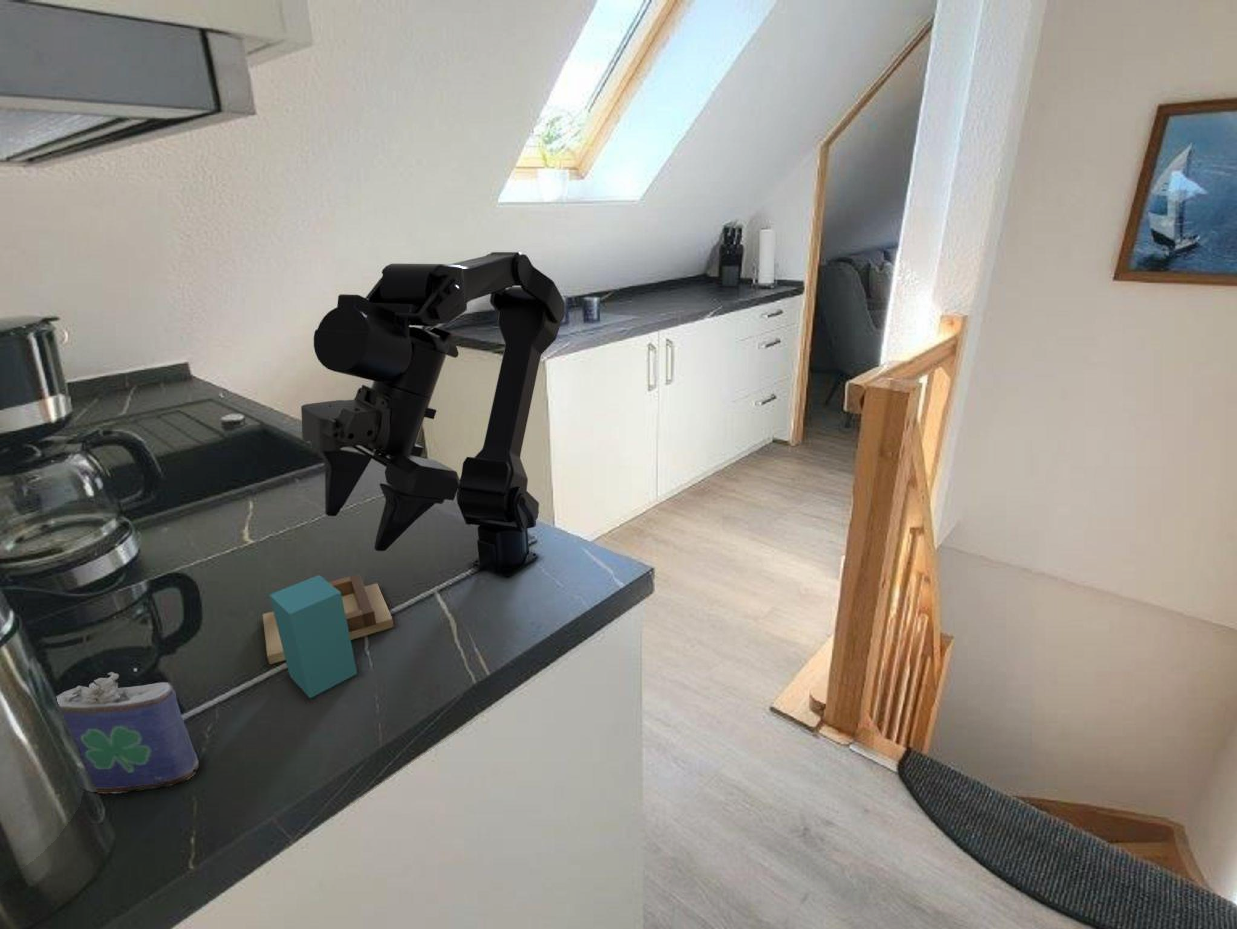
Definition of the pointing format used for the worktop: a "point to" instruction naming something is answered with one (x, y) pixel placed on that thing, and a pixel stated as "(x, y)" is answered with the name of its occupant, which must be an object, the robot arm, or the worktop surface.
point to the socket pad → (360, 609)
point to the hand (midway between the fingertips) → (354, 532)
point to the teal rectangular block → (314, 635)
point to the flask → (129, 734)
